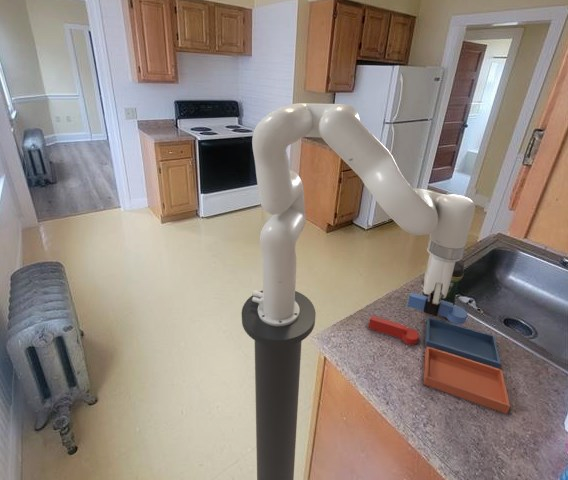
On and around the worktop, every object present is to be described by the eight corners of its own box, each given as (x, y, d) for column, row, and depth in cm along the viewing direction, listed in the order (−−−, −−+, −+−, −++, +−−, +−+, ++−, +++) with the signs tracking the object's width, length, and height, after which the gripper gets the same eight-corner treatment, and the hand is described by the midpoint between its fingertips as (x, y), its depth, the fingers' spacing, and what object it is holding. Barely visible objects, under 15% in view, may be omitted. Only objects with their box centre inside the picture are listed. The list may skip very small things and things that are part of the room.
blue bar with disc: (406, 309, 82) (409, 299, 80) (408, 299, 85) (410, 288, 84) (466, 326, 77) (469, 315, 75) (464, 314, 80) (468, 303, 79)
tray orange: (423, 384, 77) (425, 377, 76) (424, 352, 86) (426, 345, 85) (506, 414, 71) (510, 406, 70) (499, 376, 79) (502, 369, 78)
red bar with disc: (367, 331, 92) (369, 322, 91) (370, 321, 96) (371, 312, 95) (417, 347, 87) (419, 337, 86) (417, 335, 91) (420, 326, 90)
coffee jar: (452, 305, 103) (466, 256, 96) (452, 321, 97) (467, 269, 89) (420, 296, 107) (432, 248, 100) (418, 310, 101) (429, 260, 93)
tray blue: (425, 347, 87) (426, 341, 86) (426, 323, 96) (427, 316, 95) (498, 371, 81) (501, 363, 80) (492, 342, 90) (494, 335, 89)
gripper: (429, 230, 82) (416, 288, 89) (426, 260, 69) (412, 326, 76) (461, 236, 79) (446, 296, 87) (465, 269, 66) (447, 337, 73)
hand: (430, 310), depth 81 cm, fingers closed on blue bar with disc
